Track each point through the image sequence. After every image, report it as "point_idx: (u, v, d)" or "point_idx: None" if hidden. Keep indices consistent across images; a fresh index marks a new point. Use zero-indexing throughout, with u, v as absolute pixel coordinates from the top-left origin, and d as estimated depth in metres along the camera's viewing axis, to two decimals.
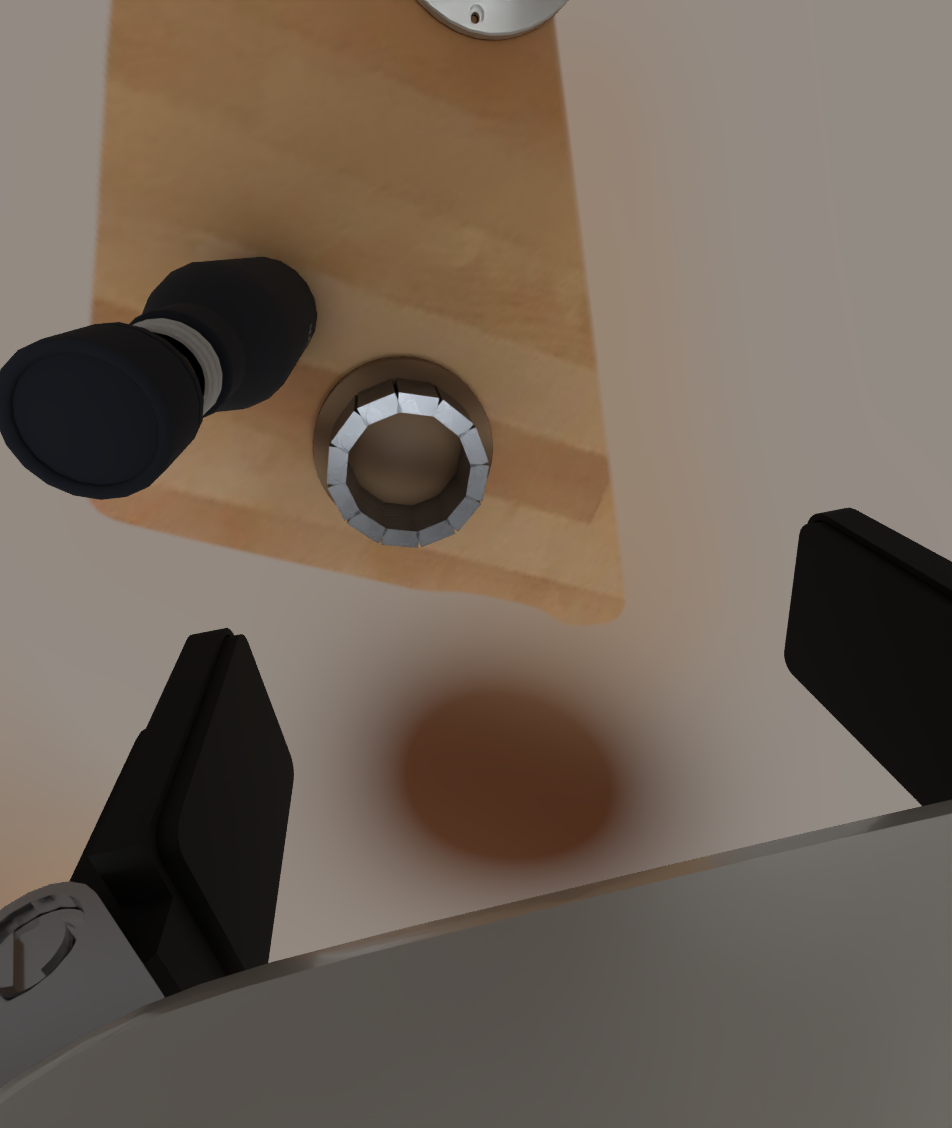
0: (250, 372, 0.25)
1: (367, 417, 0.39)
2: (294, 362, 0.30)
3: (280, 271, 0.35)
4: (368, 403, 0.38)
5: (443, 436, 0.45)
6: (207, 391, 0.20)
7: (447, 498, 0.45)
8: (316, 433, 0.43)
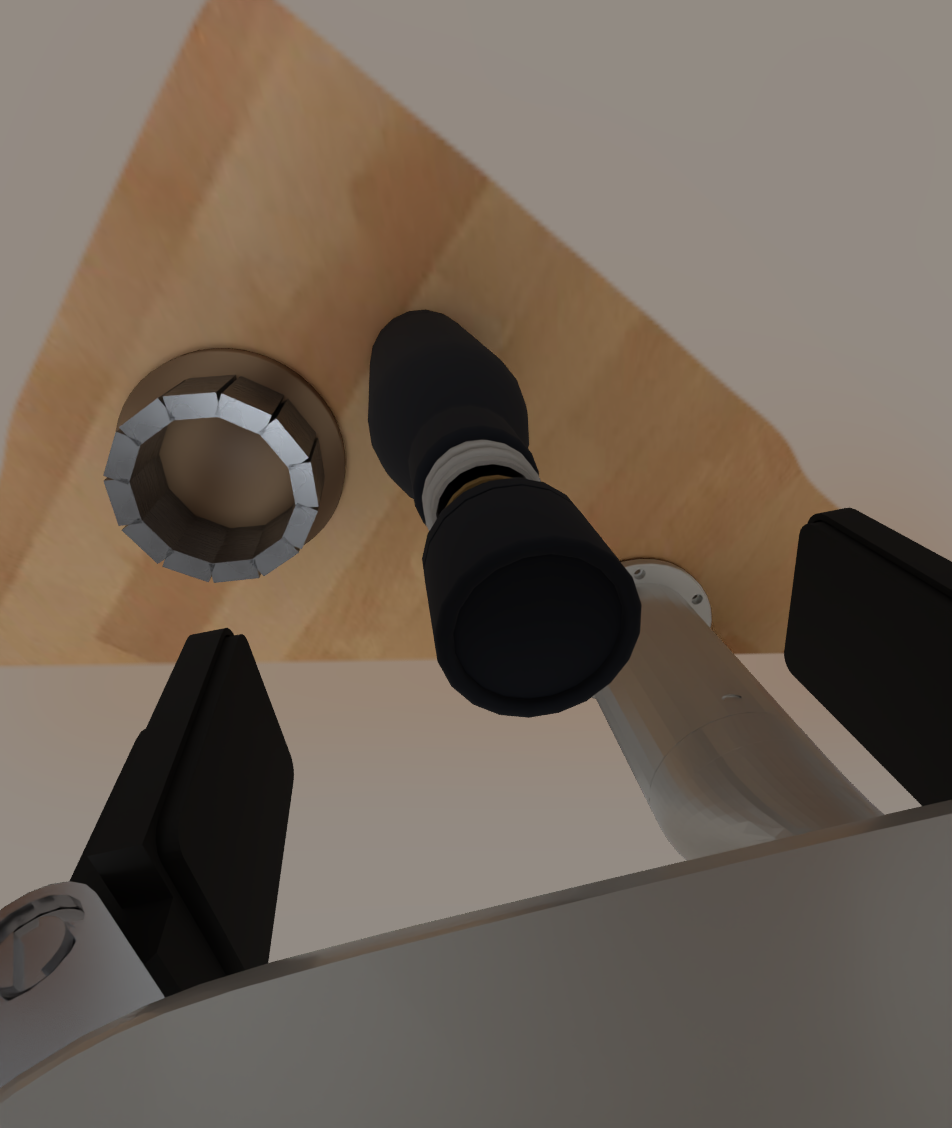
0: None
1: (297, 469, 0.33)
2: None
3: None
4: (313, 475, 0.33)
5: (244, 512, 0.39)
6: None
7: (166, 510, 0.36)
8: (280, 372, 0.35)
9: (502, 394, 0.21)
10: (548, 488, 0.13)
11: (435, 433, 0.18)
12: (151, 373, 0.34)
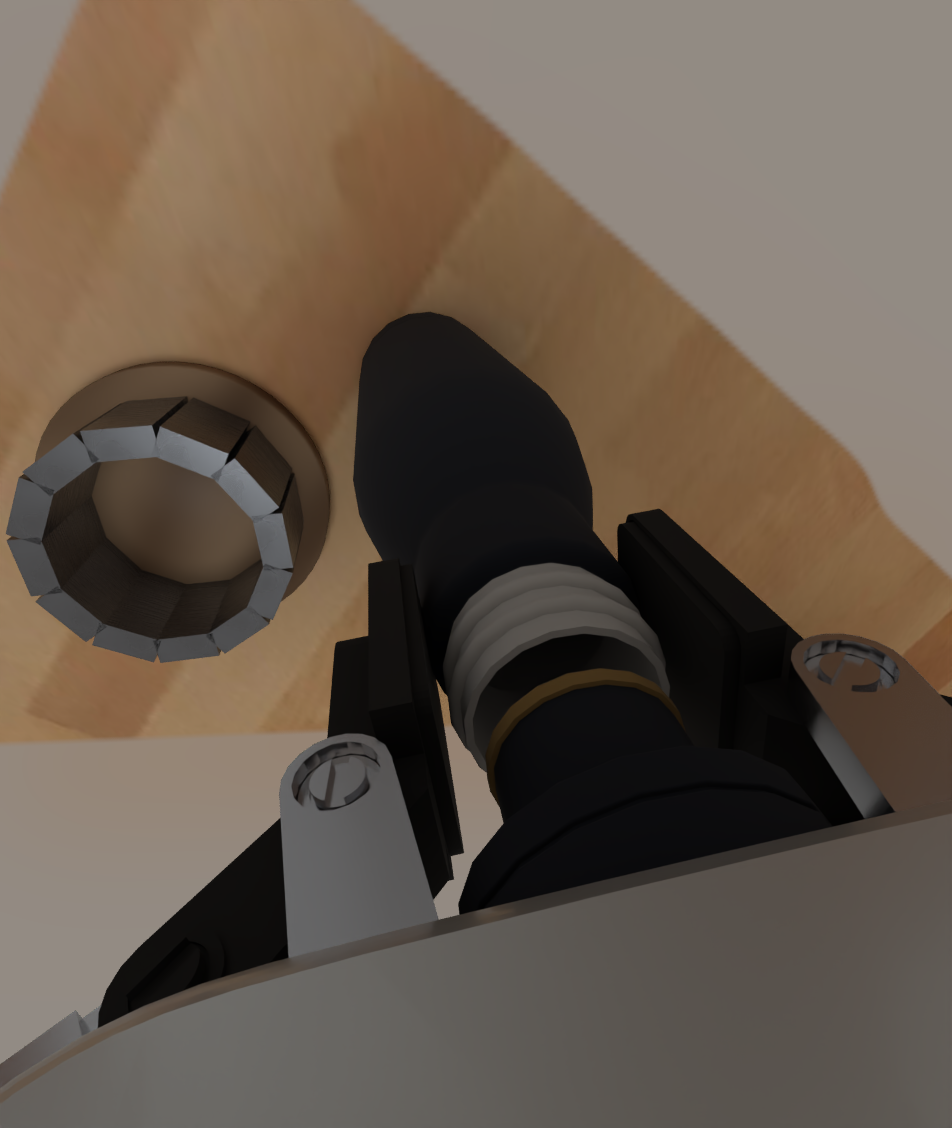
0: None
1: (264, 522, 0.25)
2: None
3: None
4: (285, 528, 0.26)
5: (204, 565, 0.31)
6: None
7: (100, 568, 0.28)
8: (244, 393, 0.28)
9: (560, 455, 0.14)
10: (764, 780, 0.05)
11: (464, 543, 0.10)
12: (76, 395, 0.27)
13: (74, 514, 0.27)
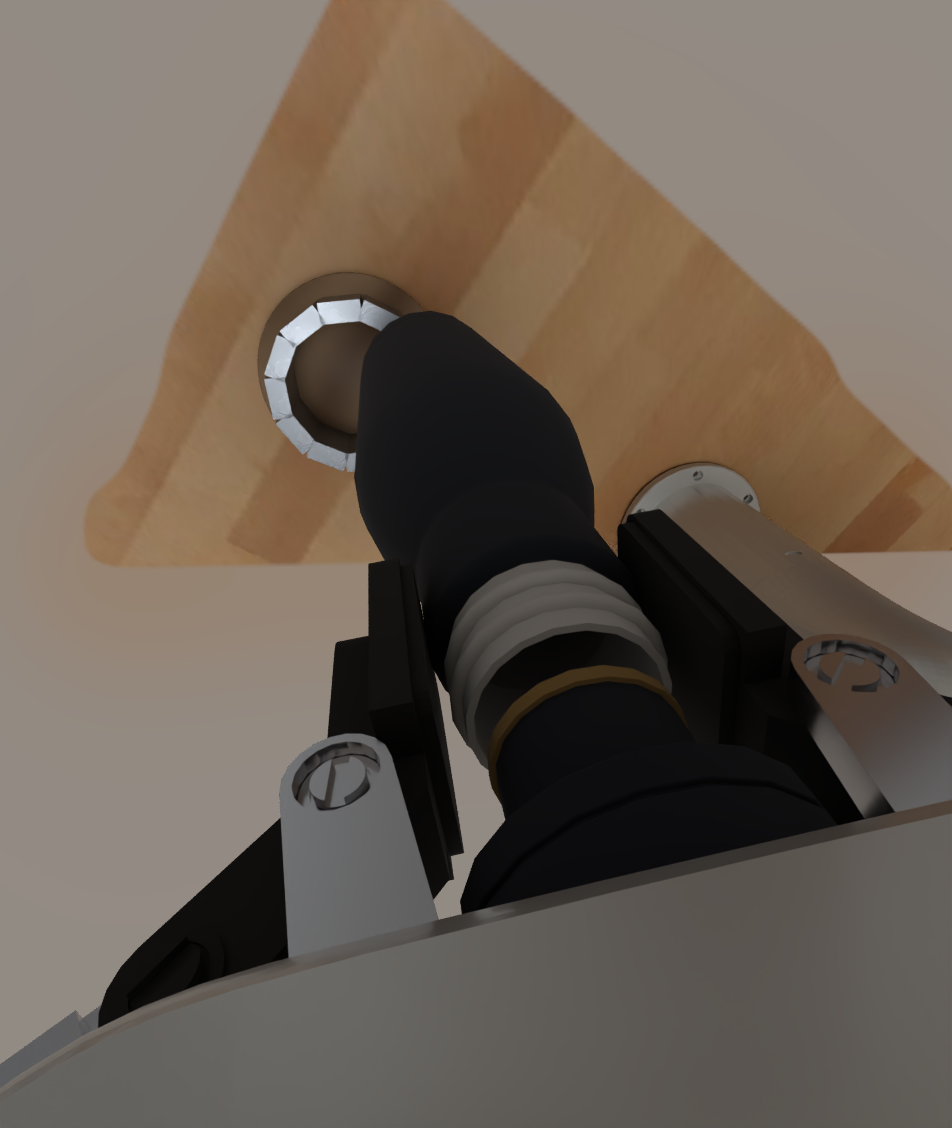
0: None
1: None
2: None
3: None
4: None
5: None
6: None
7: (303, 412, 0.42)
8: (397, 291, 0.41)
9: (562, 452, 0.14)
10: (768, 776, 0.05)
11: (465, 541, 0.10)
12: (291, 293, 0.40)
13: (290, 373, 0.41)
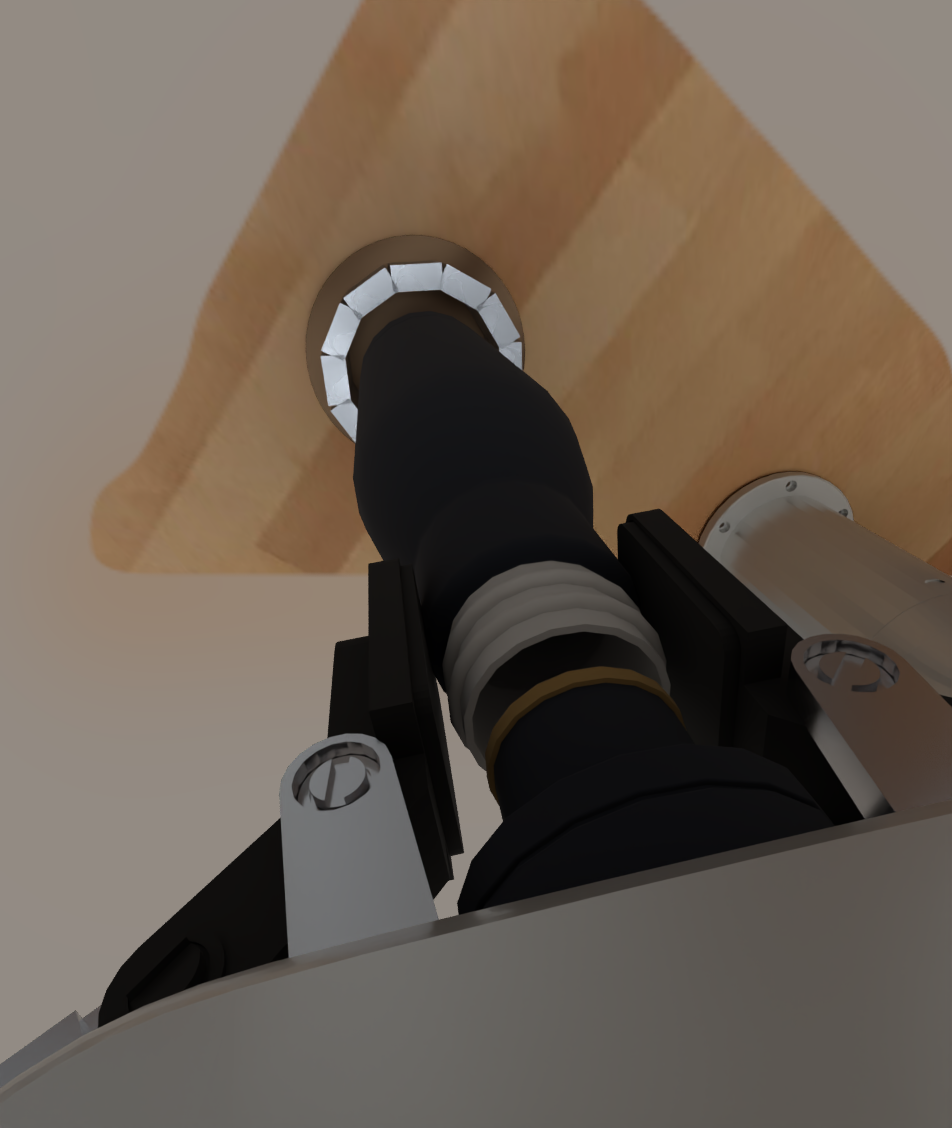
0: None
1: (507, 349, 0.33)
2: None
3: None
4: None
5: None
6: None
7: None
8: (475, 259, 0.35)
9: (560, 453, 0.14)
10: (765, 778, 0.05)
11: (463, 541, 0.10)
12: (351, 257, 0.34)
13: (347, 351, 0.34)
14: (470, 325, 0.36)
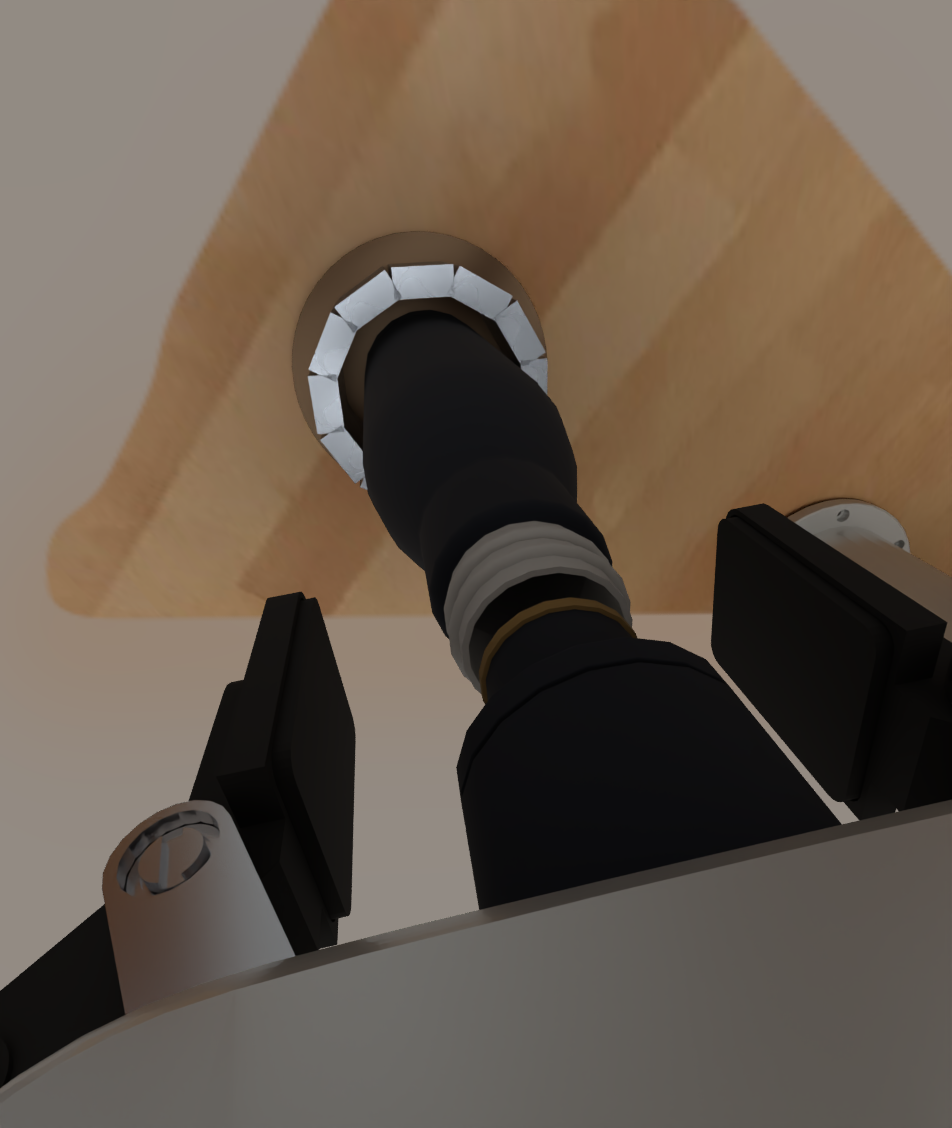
0: None
1: (530, 367, 0.27)
2: None
3: None
4: (546, 375, 0.28)
5: None
6: None
7: (354, 423, 0.30)
8: (490, 260, 0.30)
9: (546, 435, 0.15)
10: (683, 660, 0.07)
11: (461, 507, 0.12)
12: (344, 257, 0.29)
13: None
14: (484, 336, 0.31)
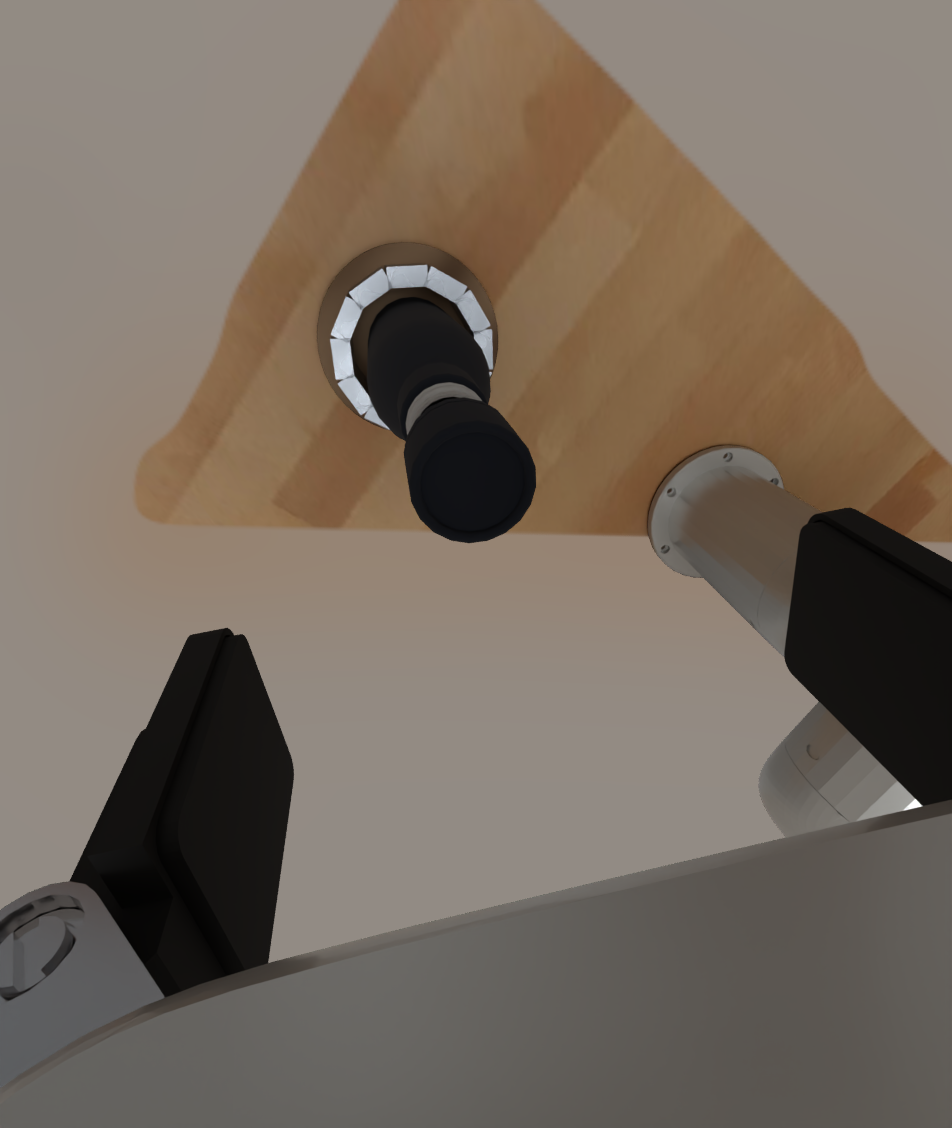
0: None
1: (480, 335, 0.40)
2: None
3: (448, 398, 0.41)
4: (491, 341, 0.41)
5: None
6: None
7: (360, 376, 0.43)
8: (456, 262, 0.43)
9: (467, 356, 0.28)
10: (484, 403, 0.20)
11: (415, 380, 0.25)
12: (355, 259, 0.42)
13: None
14: (452, 316, 0.44)
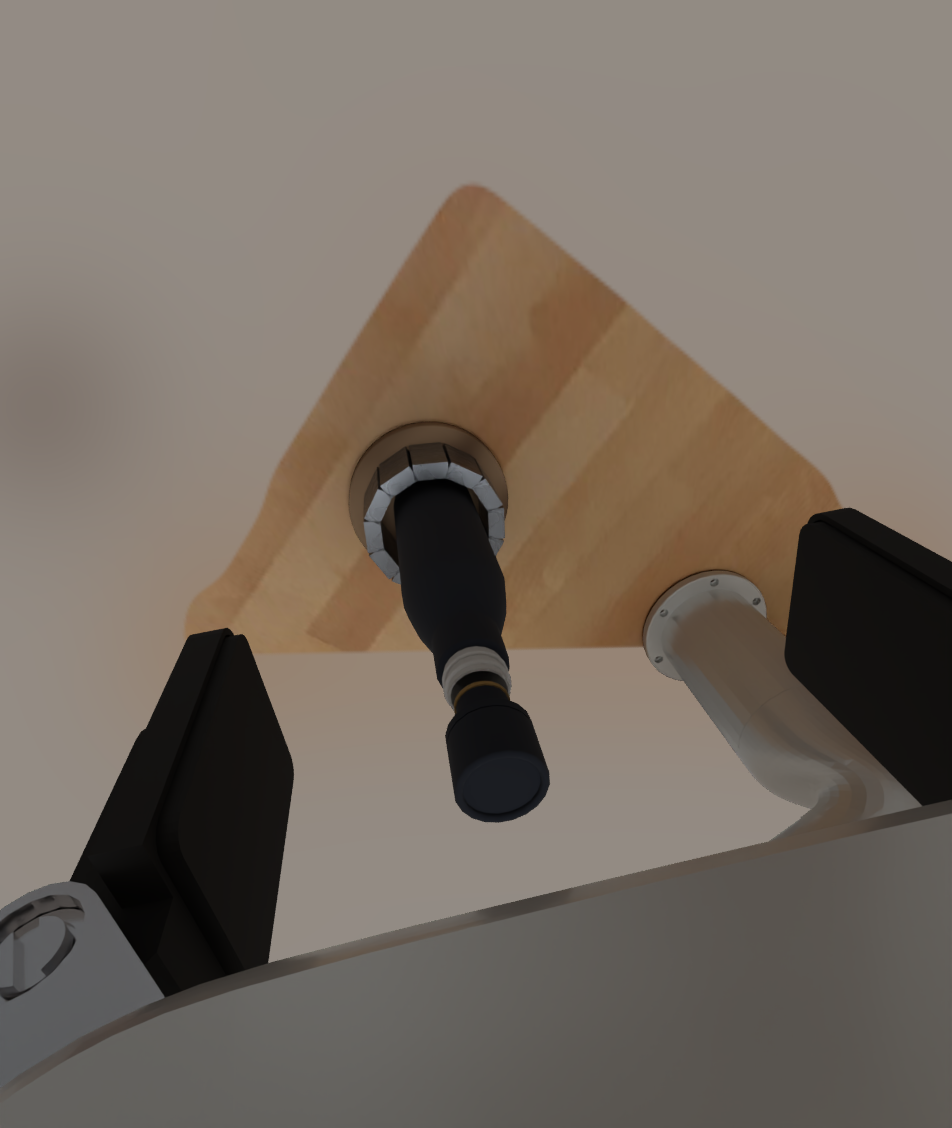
0: None
1: (494, 512, 0.46)
2: None
3: None
4: (503, 516, 0.47)
5: None
6: None
7: (387, 539, 0.49)
8: (471, 440, 0.49)
9: (488, 593, 0.34)
10: (508, 704, 0.26)
11: (448, 638, 0.31)
12: (382, 442, 0.48)
13: None
14: None
